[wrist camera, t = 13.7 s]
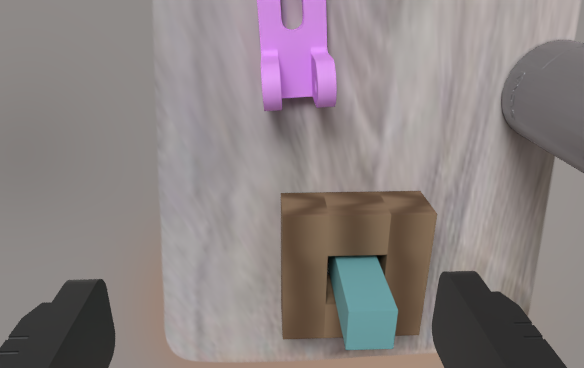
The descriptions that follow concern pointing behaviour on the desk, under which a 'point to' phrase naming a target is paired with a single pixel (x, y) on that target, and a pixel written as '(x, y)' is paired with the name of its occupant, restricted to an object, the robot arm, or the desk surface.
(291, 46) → the bracket
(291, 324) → the socket block
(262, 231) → the desk surface
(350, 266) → the peg
